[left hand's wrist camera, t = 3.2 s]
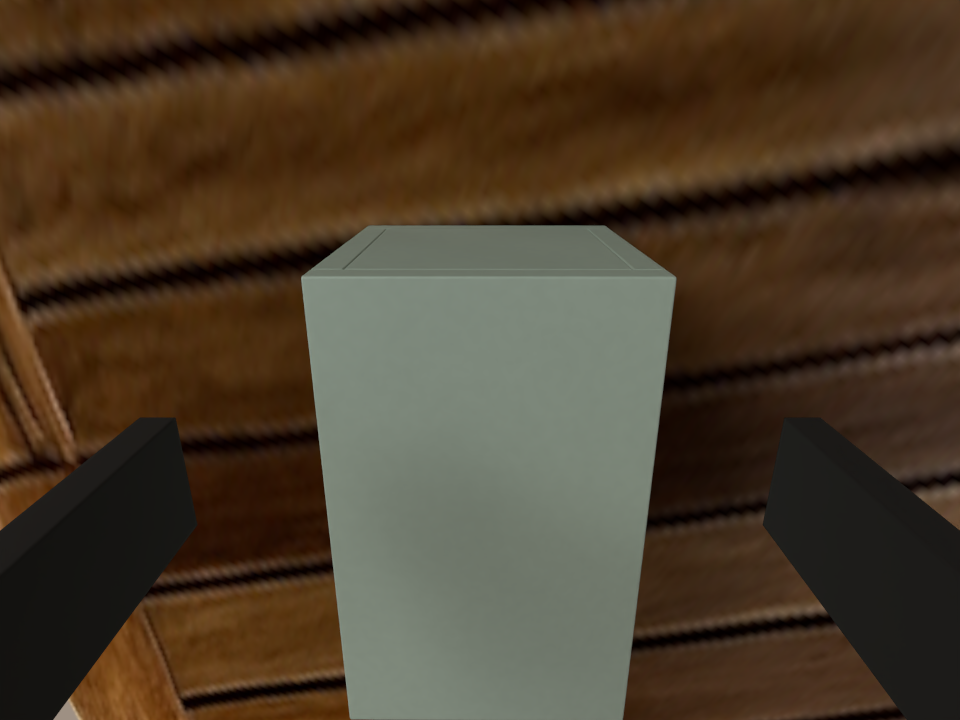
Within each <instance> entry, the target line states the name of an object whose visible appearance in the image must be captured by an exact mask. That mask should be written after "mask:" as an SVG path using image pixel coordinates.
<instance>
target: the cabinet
mask: <svg viewBox="0 0 960 720" xmlns="http://www.w3.org/2000/svg"><path fill="white" fill-rule="evenodd" d="M301 281H302V290H303V299H304V308H305V317H306V326H307V335H308V344H309V353H310V362H311V371H312V380H313V389H314V398H315V407H316V416H317V425H318V434H319V443H320V452H321V461H322V470H323V479H324V488H325V497H326V506H327V515H328V524H329V533H330V542H331V551H332V560H333V569H334V578H335V587H336V596H337V605H338V614H339V623H340V632H341V641H342V650H343V659H344V668H345V677H346V686H347V695H348V704H349V713H350V719H394V720H623V714H624V706H625V698H626V689H627V681H628V673H629V665H630V656H631V648H632V640H633V632H634V624H635V615H636V607H637V599H638V591H639V582H640V574H641V566H642V558H643V549H644V541H645V533H646V525H647V517H648V508H649V500H650V492H651V484H652V475H653V467H654V459H655V451H656V443H657V434H658V426H659V418H660V410H661V401H662V393H663V385H664V377H665V369H666V360H667V352H668V344H669V336H670V327H671V319H672V311H673V303H674V295H675V286H676V277H675V276H674V275H672V274H671V273H670V272H668V271H667V270H665V269H664V268H663V267H661V266H660V265H658V264H657V263H656V262H654V261H653V260H652V259H650V258H649V257H647V256H646V255H645V254H643V253H642V252H640V251H639V250H638V249H636V248H635V247H633V246H632V245H631V244H629V243H628V242H627V241H625V240H624V239H622V238H621V237H620V236H618V235H617V234H615V233H614V232H613V231H611V230H610V229H609V228H607V227H606V226H368V227H366V228H365V229H364V230H362V231H361V232H360V233H359V234H357V235H356V236H355V237H353V238H352V239H351V240H349V241H348V242H347V243H345V244H344V245H343V246H341V247H340V248H339V249H337V250H336V251H335V252H333V253H332V254H331V255H330V256H328V257H327V258H326V259H324V260H323V261H322V262H320V263H319V264H318V265H316V266H315V267H314V268H312V269H311V270H310V271H308V272H307V273H306V274H305V275H303V276H302V278H301Z"/></svg>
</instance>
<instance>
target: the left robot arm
mask: <svg viewBox="0 0 960 720" xmlns="http://www.w3.org/2000/svg"><path fill="white" fill-rule="evenodd" d="M196 526H197V521H196V516H195V511H194V507H193V502H192V497H191V492H190V487H189V482H188V477H187V472H186V467H185V462H184V457H183V452H182V447H181V442H180V438H179V433H178V428H177V423H176V418H139V419H138V420H136V421H135V422H134V423H133V424H132V425H130V426H129V427H128V428H127V429H125V430H124V431H123V432H122V433H120V434H119V435H118V436H117V437H115V438H114V439H113V440H112V441H111V442H109V443H108V444H107V445H106V446H104V447H103V448H102V449H101V450H99V451H98V452H97V453H96V454H94V455H93V456H92V457H91V458H89V459H88V460H87V461H86V462H85V463H83V464H82V465H81V466H80V467H78V468H77V469H76V470H75V471H73V472H72V473H71V474H70V475H68V476H67V477H66V478H65V479H64V480H62V481H61V482H60V483H59V484H57V485H56V486H55V487H54V488H52V489H51V490H50V491H49V492H47V493H46V494H45V495H44V496H43V497H41V498H40V499H39V500H38V501H36V502H35V503H34V504H33V505H31V506H30V507H29V508H28V509H26V510H25V511H24V512H23V513H22V514H20V515H19V516H18V517H17V518H15V519H14V520H13V521H12V522H10V523H9V524H8V525H7V526H5V527H4V528H3V529H2V530H1V531H0V720H53V719H54V718H55V716H56V715H57V714H58V712H59V711H60V710H61V708H62V707H63V706H64V704H65V703H66V702H67V700H68V699H69V698H70V696H71V695H72V693H73V692H74V691H75V689H76V688H77V687H78V685H79V684H80V683H81V681H82V680H83V679H84V677H85V676H86V675H87V673H88V672H89V670H90V669H91V668H92V666H93V665H94V664H95V662H96V661H97V660H98V658H99V657H100V656H101V654H102V653H103V652H104V650H105V649H106V648H107V646H108V645H109V643H110V642H111V641H112V639H113V638H114V637H115V635H116V634H117V633H118V631H119V630H120V629H121V627H122V626H123V625H124V623H125V622H126V620H127V619H128V618H129V616H130V615H131V614H132V612H133V611H134V610H135V608H136V607H137V606H138V604H139V603H140V602H141V600H142V599H143V597H144V596H145V595H146V593H147V592H148V591H149V589H150V588H151V587H152V585H153V584H154V583H155V581H156V580H157V579H158V577H159V576H160V574H161V573H162V572H163V570H164V569H165V568H166V566H167V565H168V564H169V562H170V561H171V560H172V558H173V557H174V556H175V554H176V553H177V552H178V550H179V549H180V547H181V546H182V545H183V543H184V542H185V541H186V539H187V538H188V537H189V535H190V534H191V533H192V531H193V530H194V529H195V527H196ZM763 526H764V527H765V529H766V530H767V531H768V533H769V534H770V535H771V537H772V538H773V539H774V541H775V542H776V543H777V545H778V546H779V547H780V549H781V550H782V552H783V553H784V554H785V556H786V557H787V558H788V560H789V561H790V562H791V564H792V565H793V566H794V568H795V569H796V570H797V572H798V573H799V574H800V576H801V577H802V579H803V580H804V581H805V583H806V584H807V585H808V587H809V588H810V589H811V591H812V592H813V593H814V595H815V596H816V597H817V599H818V600H819V602H820V603H821V604H822V606H823V607H824V608H825V610H826V611H827V612H828V614H829V615H830V616H831V618H832V619H833V620H834V622H835V623H836V625H837V626H838V627H839V629H840V630H841V631H842V633H843V634H844V635H845V637H846V638H847V639H848V641H849V642H850V643H851V645H852V646H853V648H854V649H855V650H856V652H857V653H858V654H859V656H860V657H861V658H862V660H863V661H864V662H865V664H866V665H867V666H868V668H869V669H870V670H871V672H872V673H873V675H874V676H875V677H876V679H877V680H878V681H879V683H880V684H881V685H882V687H883V688H884V689H885V691H886V692H887V693H888V695H889V696H890V698H891V699H892V700H893V702H894V703H895V704H896V706H897V707H898V708H899V710H900V711H901V712H902V714H903V715H904V716H905V718H906V719H907V720H960V531H959V530H958V529H957V528H956V527H955V526H953V525H952V524H951V523H950V522H948V521H947V520H946V519H945V518H943V517H942V516H941V515H940V514H938V513H937V512H936V511H935V510H934V509H932V508H931V507H930V506H929V505H927V504H926V503H925V502H924V501H922V500H921V499H920V498H919V497H917V496H916V495H915V494H914V493H913V492H911V491H910V490H909V489H908V488H906V487H905V486H904V485H903V484H901V483H900V482H899V481H898V480H896V479H895V478H894V477H893V476H892V475H890V474H889V473H888V472H887V471H885V470H884V469H883V468H882V467H880V466H879V465H878V464H877V463H875V462H874V461H873V460H872V459H871V458H869V457H868V456H867V455H866V454H864V453H863V452H862V451H861V450H859V449H858V448H857V447H856V446H854V445H853V444H852V443H851V442H849V441H848V440H847V439H846V438H845V437H843V436H842V435H841V434H840V433H838V432H837V431H836V430H835V429H833V428H832V427H831V426H830V425H828V424H827V423H826V422H825V421H824V420H822V419H821V418H784V423H783V428H782V433H781V438H780V442H779V447H778V452H777V457H776V462H775V467H774V472H773V477H772V482H771V487H770V492H769V497H768V502H767V507H766V511H765V516H764V521H763Z"/></svg>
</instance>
